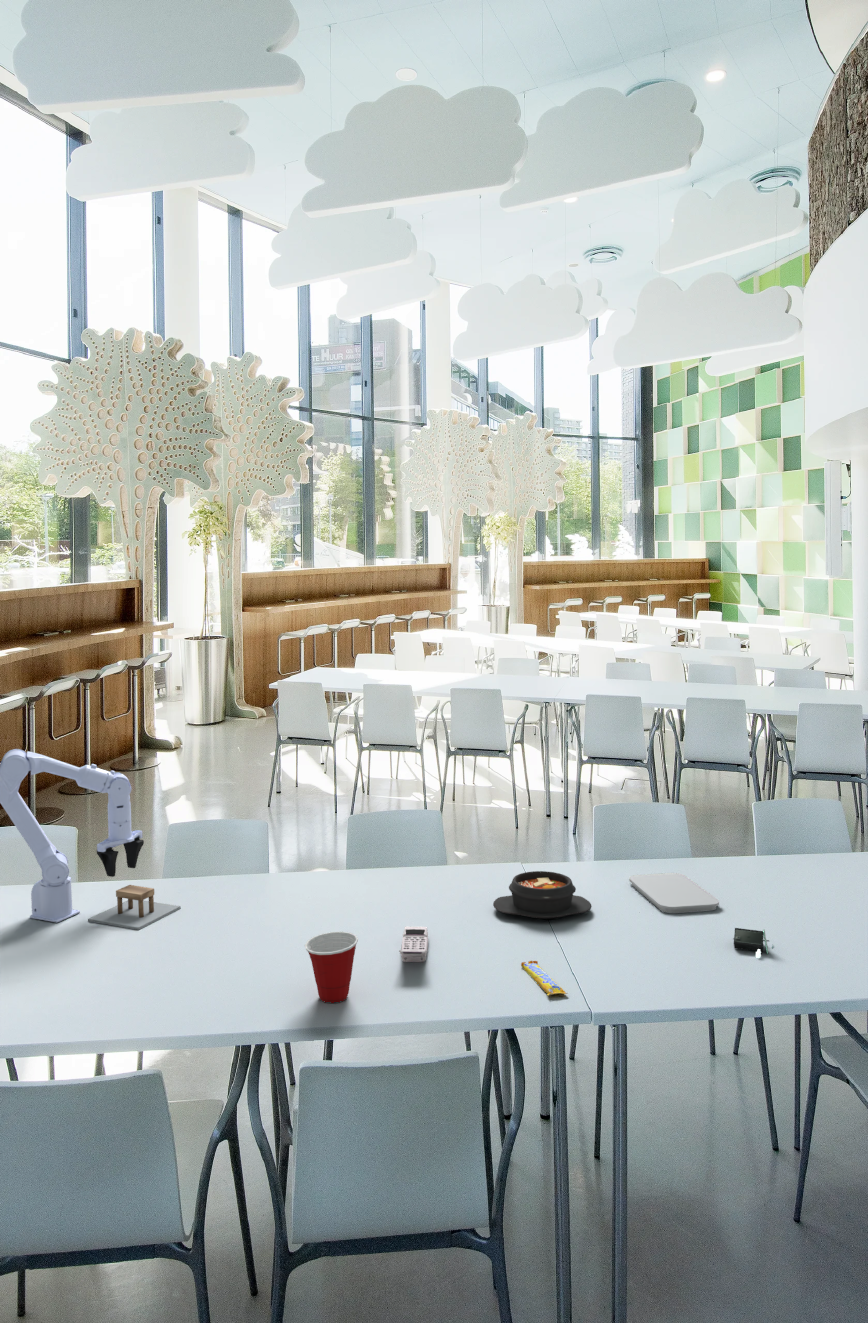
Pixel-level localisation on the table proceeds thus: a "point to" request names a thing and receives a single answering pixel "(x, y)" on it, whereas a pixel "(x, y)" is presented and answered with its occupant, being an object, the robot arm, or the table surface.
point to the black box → (750, 940)
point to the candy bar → (542, 978)
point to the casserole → (542, 896)
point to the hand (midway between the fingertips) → (121, 871)
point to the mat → (134, 915)
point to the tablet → (674, 892)
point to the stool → (135, 898)
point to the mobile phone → (414, 944)
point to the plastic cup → (332, 963)
